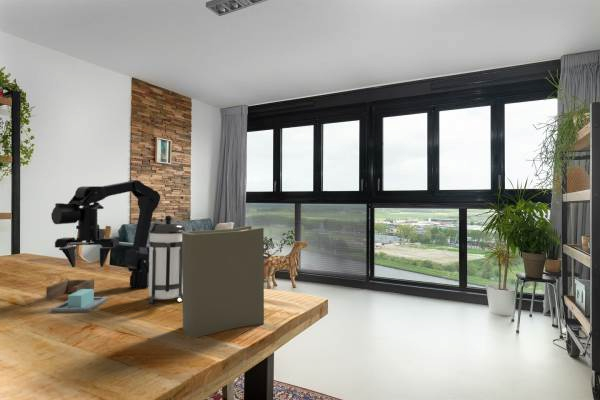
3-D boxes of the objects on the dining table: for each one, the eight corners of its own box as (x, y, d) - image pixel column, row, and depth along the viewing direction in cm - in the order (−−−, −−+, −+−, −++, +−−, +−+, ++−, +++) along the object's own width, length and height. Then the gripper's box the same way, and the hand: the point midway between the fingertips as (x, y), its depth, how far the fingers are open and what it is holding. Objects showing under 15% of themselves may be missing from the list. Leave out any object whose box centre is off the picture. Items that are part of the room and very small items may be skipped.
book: (189, 341, 88) (188, 232, 88) (179, 329, 96) (179, 229, 96) (263, 323, 100) (263, 228, 100) (249, 314, 108) (249, 225, 108)
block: (93, 289, 117) (81, 295, 109) (93, 300, 117) (81, 308, 109) (81, 289, 117) (68, 295, 109) (81, 300, 117) (67, 308, 109)
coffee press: (131, 302, 119) (133, 215, 119) (168, 291, 133) (170, 214, 133) (166, 310, 111) (168, 217, 111) (202, 298, 125) (204, 215, 125)
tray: (107, 300, 120) (107, 296, 120) (88, 312, 107) (88, 308, 107) (74, 300, 119) (74, 297, 119) (51, 312, 106) (51, 308, 106)
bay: (94, 291, 132) (94, 279, 132) (76, 300, 120) (77, 287, 120) (66, 291, 131) (66, 279, 131) (46, 300, 119) (46, 287, 119)
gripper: (124, 220, 129) (124, 262, 129) (71, 220, 127) (71, 262, 127) (112, 223, 118) (112, 268, 118) (53, 223, 116) (53, 269, 116)
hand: (87, 266), depth 120 cm, fingers open, 9 cm apart
